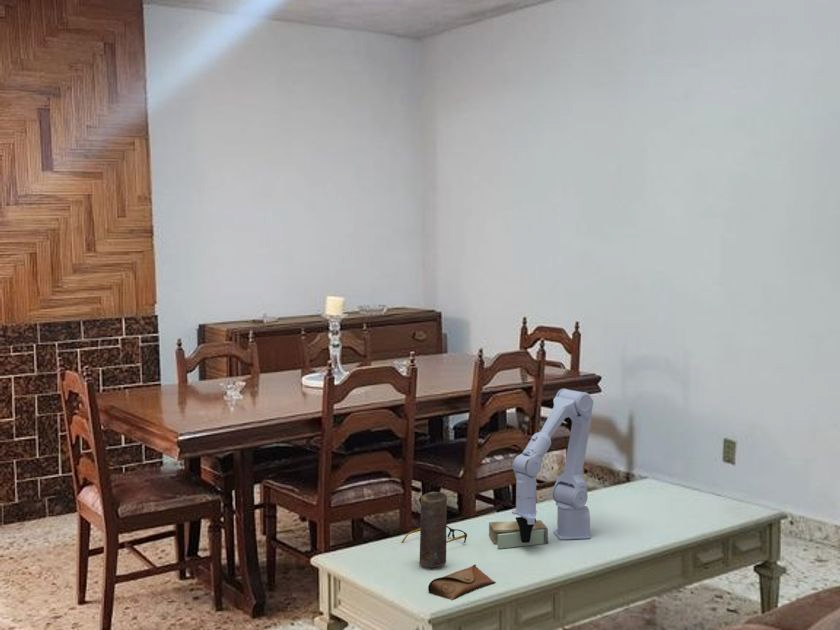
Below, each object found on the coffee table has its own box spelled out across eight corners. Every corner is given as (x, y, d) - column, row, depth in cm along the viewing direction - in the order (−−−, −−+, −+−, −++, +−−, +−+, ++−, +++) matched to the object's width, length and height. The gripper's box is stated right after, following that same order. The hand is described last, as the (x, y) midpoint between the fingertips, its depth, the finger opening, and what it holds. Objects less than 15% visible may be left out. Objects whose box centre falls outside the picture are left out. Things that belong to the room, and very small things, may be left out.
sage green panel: (547, 542, 290) (547, 528, 289) (548, 543, 289) (548, 529, 288) (497, 547, 285) (497, 534, 284) (498, 548, 284) (498, 535, 283)
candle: (452, 566, 270) (452, 494, 268) (433, 572, 265) (433, 500, 263) (432, 559, 276) (432, 489, 274) (414, 565, 271) (413, 494, 269)
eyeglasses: (469, 545, 289) (469, 532, 288) (432, 556, 279) (432, 543, 279) (437, 534, 299) (437, 521, 299) (400, 544, 290) (400, 531, 290)
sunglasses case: (452, 600, 245) (442, 575, 247) (434, 608, 249) (424, 583, 251) (498, 581, 258) (488, 557, 259) (480, 589, 262) (470, 565, 264)
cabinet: (541, 533, 298) (541, 520, 298) (547, 542, 290) (547, 528, 290) (489, 535, 296) (489, 522, 296) (494, 544, 288) (494, 530, 288)
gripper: (507, 489, 291) (506, 534, 292) (517, 503, 276) (517, 550, 278) (530, 489, 292) (530, 534, 293) (542, 502, 277) (541, 549, 278)
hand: (525, 542), depth 285 cm, fingers closed
